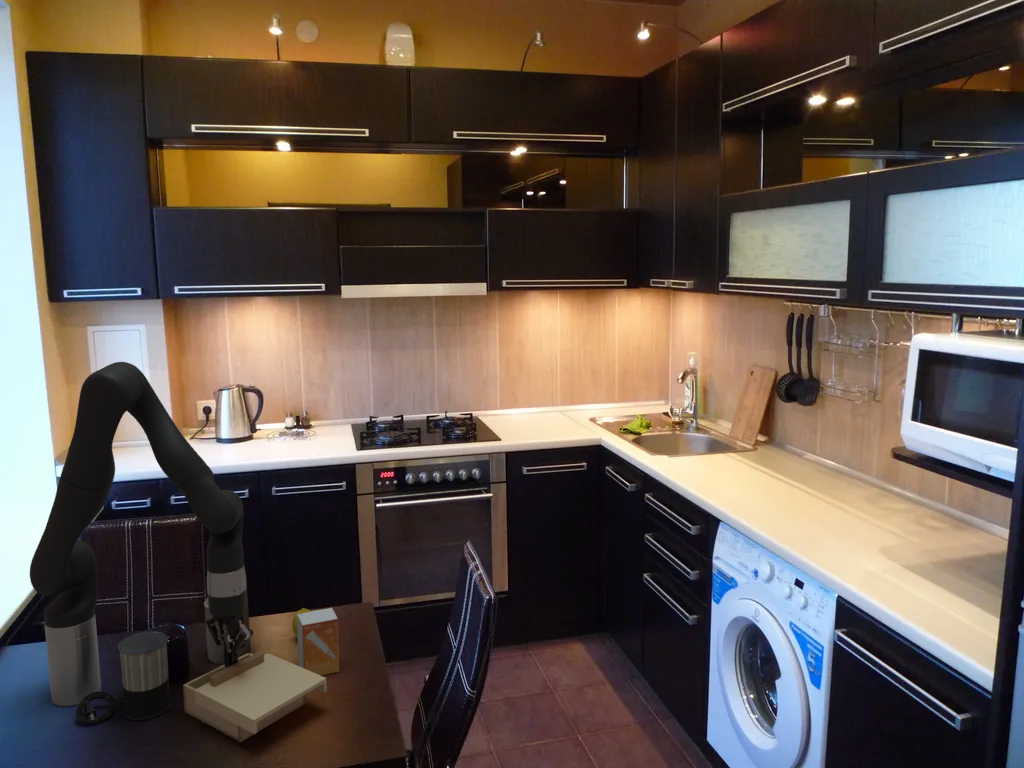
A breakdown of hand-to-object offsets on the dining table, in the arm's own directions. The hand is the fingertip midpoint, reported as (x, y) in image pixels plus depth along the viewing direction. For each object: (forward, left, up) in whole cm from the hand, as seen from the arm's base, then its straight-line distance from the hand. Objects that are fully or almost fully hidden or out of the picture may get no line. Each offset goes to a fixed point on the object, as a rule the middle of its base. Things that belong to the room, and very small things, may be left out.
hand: (231, 666), depth 158 cm
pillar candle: (-18, +12, -8) cm, 23 cm away
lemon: (-9, +27, -8) cm, 29 cm away
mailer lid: (+10, 0, -3) cm, 10 cm away
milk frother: (-15, -15, -8) cm, 22 cm away
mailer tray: (+4, 0, -8) cm, 9 cm away
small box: (+5, +19, -8) cm, 21 cm away
